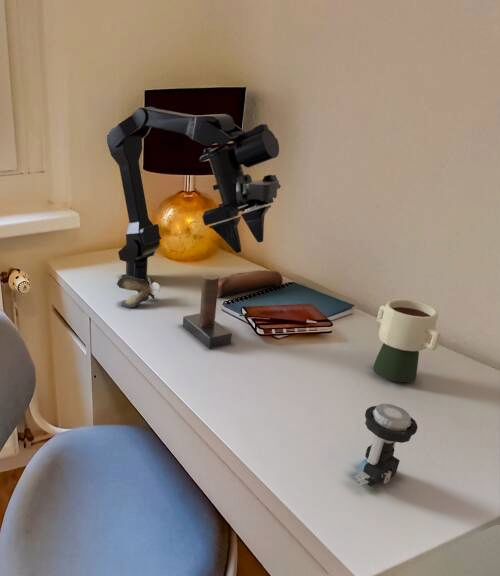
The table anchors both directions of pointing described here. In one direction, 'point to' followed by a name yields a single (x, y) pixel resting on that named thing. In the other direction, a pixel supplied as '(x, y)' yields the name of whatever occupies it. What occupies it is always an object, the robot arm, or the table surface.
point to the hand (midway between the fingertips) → (250, 247)
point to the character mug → (404, 338)
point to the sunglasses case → (248, 281)
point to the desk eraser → (208, 317)
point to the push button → (384, 442)
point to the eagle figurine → (139, 286)
